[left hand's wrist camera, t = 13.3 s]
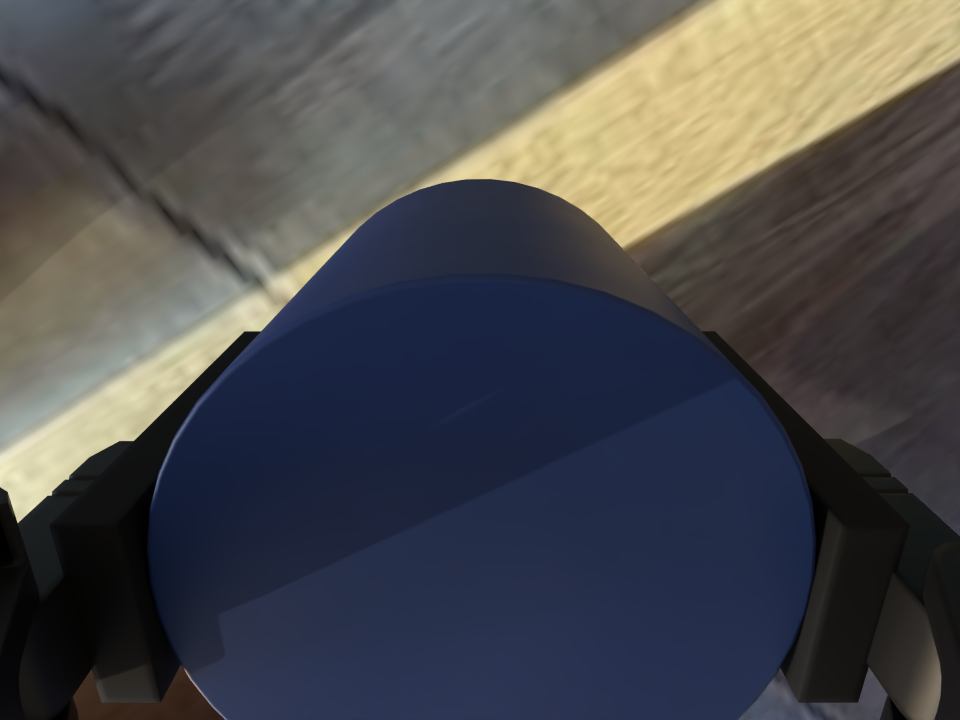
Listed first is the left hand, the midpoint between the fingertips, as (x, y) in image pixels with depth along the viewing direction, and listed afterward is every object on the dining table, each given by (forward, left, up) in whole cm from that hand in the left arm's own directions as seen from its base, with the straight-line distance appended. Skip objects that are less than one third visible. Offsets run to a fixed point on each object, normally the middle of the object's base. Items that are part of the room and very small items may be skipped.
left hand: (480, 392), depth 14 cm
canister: (0, 0, -2) cm, 2 cm away
